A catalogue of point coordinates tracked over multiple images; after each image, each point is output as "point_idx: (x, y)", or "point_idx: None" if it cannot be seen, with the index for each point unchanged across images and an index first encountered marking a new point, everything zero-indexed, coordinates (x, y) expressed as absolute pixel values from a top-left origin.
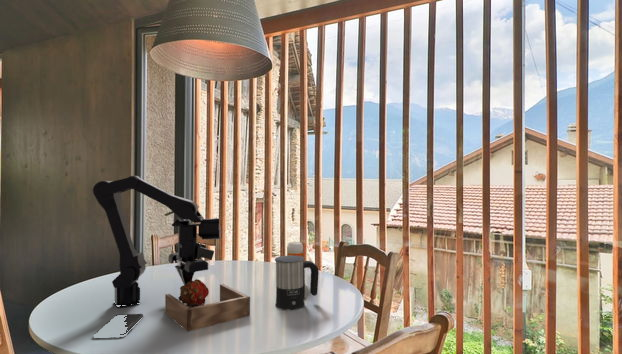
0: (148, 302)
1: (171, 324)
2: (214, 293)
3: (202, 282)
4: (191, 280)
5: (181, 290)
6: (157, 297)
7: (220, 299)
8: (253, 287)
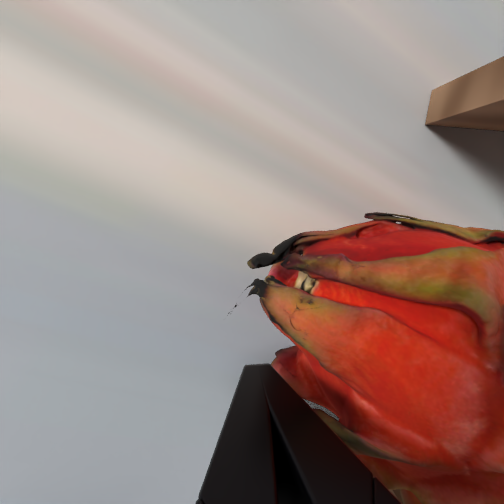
0: (117, 489)
1: None
2: (183, 21)
3: (497, 299)
4: (340, 442)
5: (407, 496)
6: (29, 436)
7: (455, 120)
8: None
